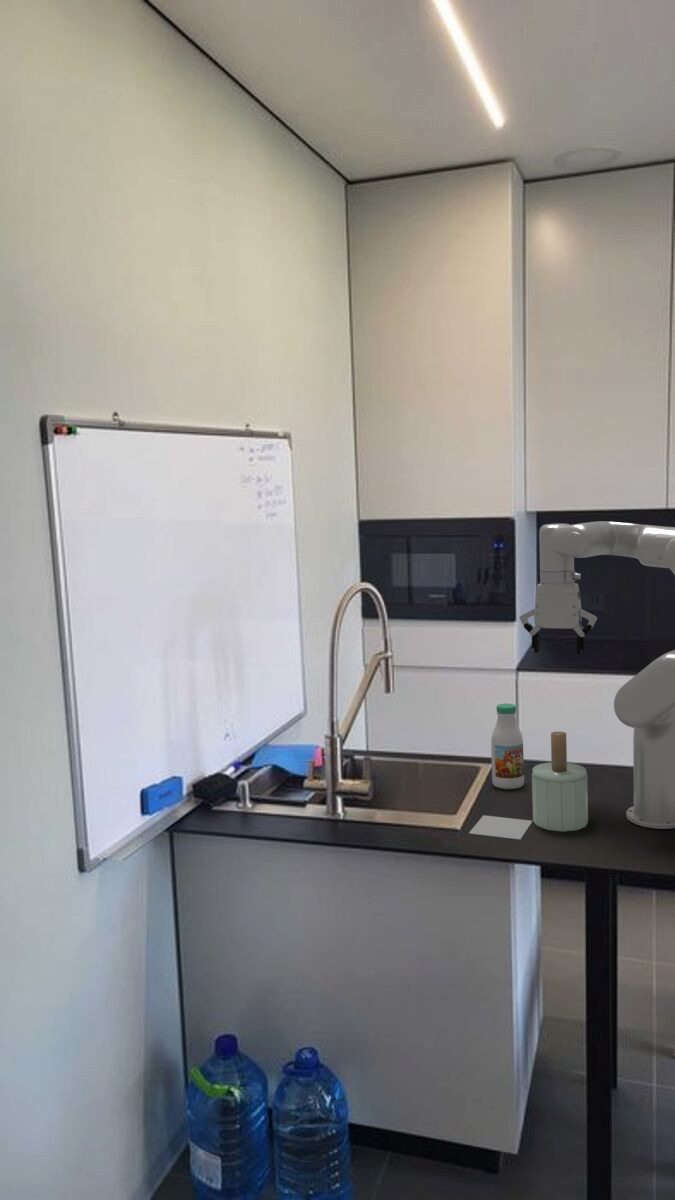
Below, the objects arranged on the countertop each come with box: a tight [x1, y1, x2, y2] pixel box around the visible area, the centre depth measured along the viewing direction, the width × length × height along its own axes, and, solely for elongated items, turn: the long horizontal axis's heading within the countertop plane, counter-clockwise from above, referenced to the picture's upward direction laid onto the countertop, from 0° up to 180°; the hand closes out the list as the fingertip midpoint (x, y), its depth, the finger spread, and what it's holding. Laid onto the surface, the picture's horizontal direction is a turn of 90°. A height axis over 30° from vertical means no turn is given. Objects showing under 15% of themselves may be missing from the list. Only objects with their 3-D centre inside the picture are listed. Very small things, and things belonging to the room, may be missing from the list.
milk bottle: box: [490, 703, 525, 790], centre depth 222 cm, size 8×8×20 cm
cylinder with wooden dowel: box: [531, 731, 589, 832], centre depth 195 cm, size 11×11×20 cm
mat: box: [468, 815, 533, 840], centre depth 194 cm, size 11×11×1 cm
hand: (558, 652), depth 208 cm, fingers open, 9 cm apart
